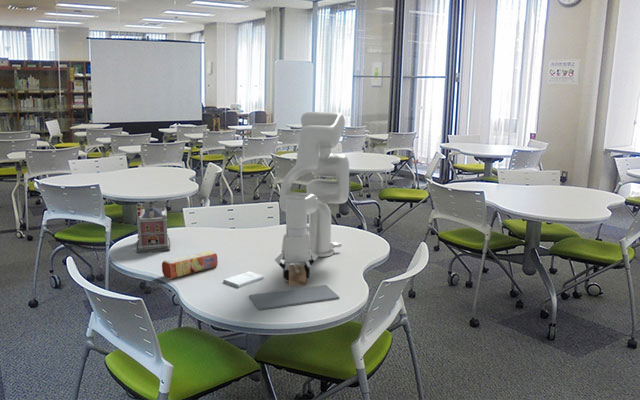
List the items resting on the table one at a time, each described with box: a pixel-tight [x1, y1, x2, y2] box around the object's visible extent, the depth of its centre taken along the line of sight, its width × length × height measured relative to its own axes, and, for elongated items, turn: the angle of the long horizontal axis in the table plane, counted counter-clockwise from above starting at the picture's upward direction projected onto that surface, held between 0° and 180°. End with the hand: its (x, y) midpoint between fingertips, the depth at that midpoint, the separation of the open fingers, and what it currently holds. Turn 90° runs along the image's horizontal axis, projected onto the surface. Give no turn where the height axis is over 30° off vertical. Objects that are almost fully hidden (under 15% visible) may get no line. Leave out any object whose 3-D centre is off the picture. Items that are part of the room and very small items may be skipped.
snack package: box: [161, 250, 218, 280], centre depth 210 cm, size 21×7×7 cm, turn 135°
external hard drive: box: [223, 270, 265, 289], centre depth 202 cm, size 2×8×12 cm
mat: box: [249, 284, 340, 311], centre depth 187 cm, size 28×12×1 cm, turn 111°
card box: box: [288, 264, 307, 286], centre depth 202 cm, size 6×9×5 cm, turn 8°
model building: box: [135, 201, 171, 254], centre depth 240 cm, size 19×14×20 cm
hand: (296, 277), depth 202 cm, fingers closed on card box, 6 cm apart
